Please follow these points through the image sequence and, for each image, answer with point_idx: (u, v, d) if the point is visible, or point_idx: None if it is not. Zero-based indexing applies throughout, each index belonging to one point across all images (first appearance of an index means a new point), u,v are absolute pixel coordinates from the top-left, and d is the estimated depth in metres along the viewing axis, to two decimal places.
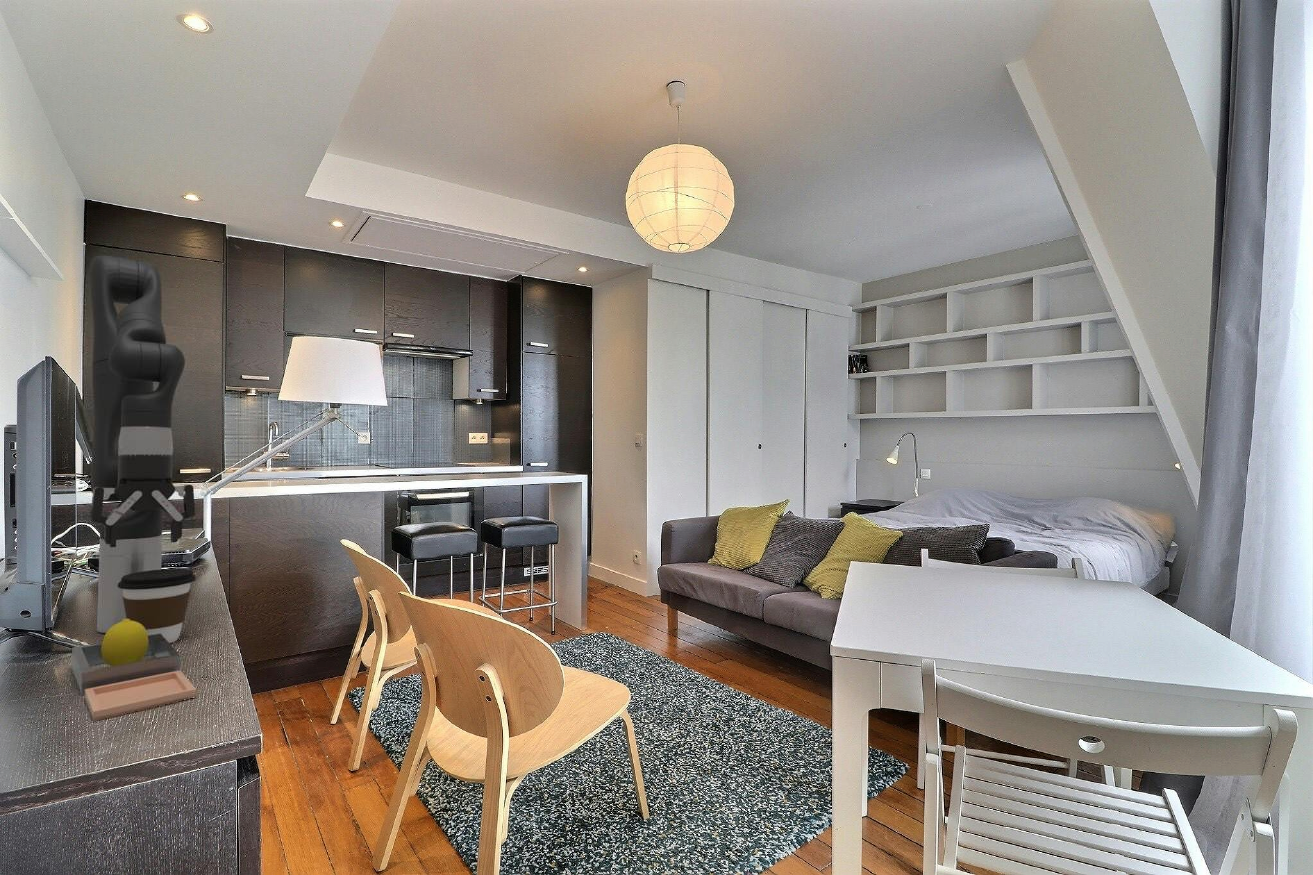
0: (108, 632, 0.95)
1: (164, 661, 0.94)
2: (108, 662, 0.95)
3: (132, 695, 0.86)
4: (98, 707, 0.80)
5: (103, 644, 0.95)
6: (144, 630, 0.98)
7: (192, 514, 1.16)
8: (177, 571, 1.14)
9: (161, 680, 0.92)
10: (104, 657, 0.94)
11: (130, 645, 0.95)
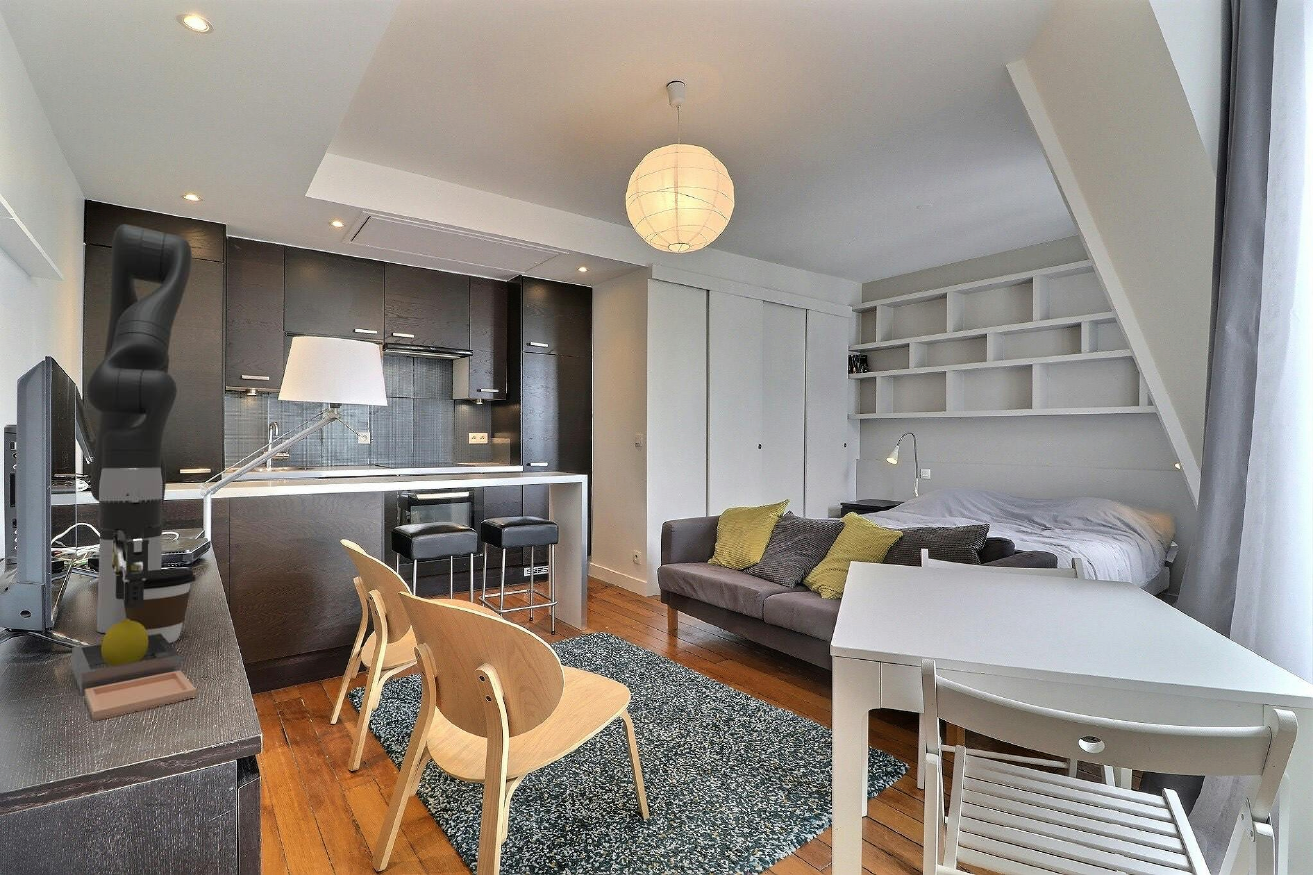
0: (108, 632, 0.95)
1: (164, 661, 0.94)
2: (108, 662, 0.95)
3: (132, 695, 0.86)
4: (98, 707, 0.80)
5: (103, 644, 0.95)
6: (144, 630, 0.98)
7: None
8: (177, 571, 1.14)
9: (161, 680, 0.92)
10: (104, 657, 0.94)
11: (129, 645, 0.95)
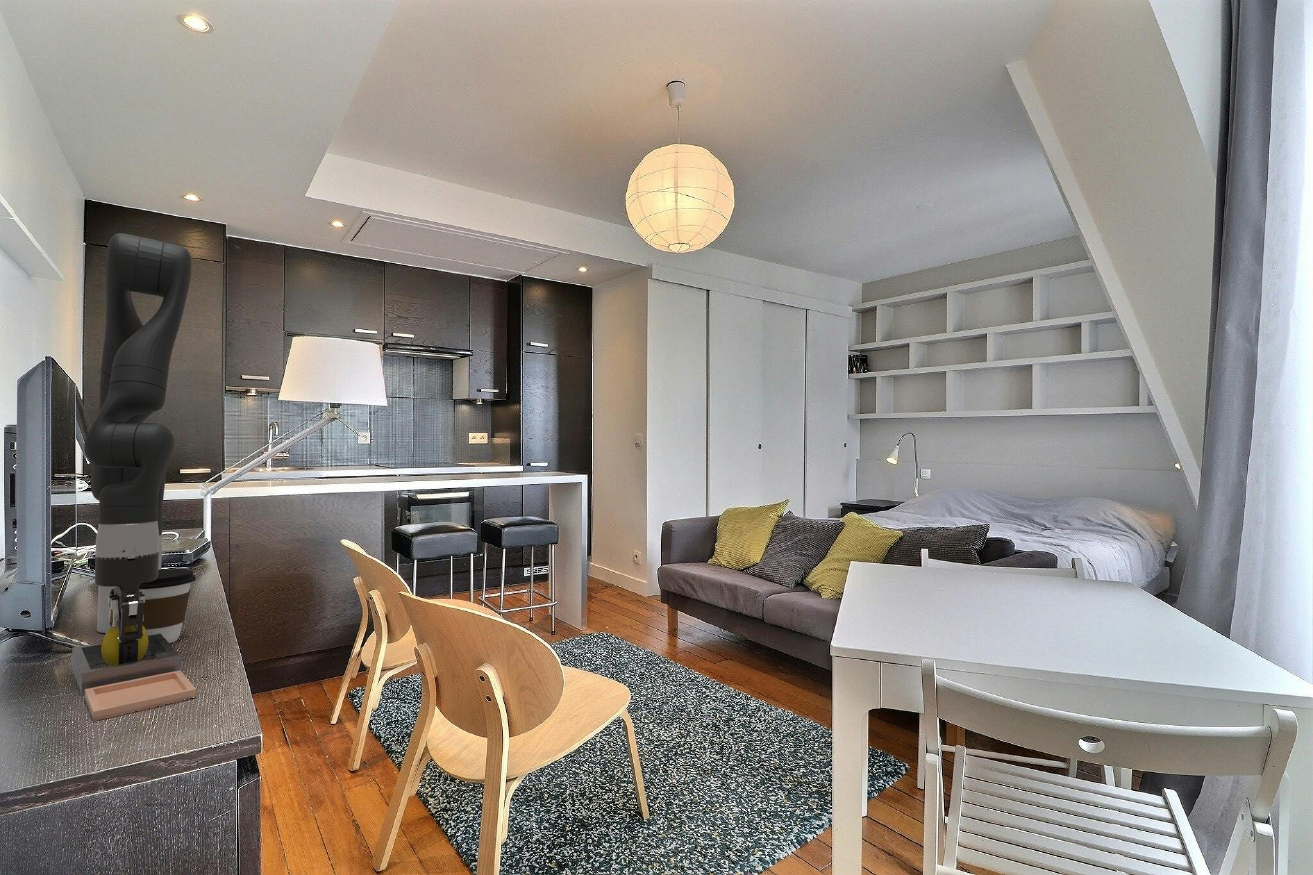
0: (108, 632, 0.95)
1: (164, 661, 0.94)
2: (108, 662, 0.95)
3: (132, 695, 0.86)
4: (98, 707, 0.80)
5: (103, 644, 0.95)
6: (144, 630, 0.98)
7: None
8: (177, 571, 1.14)
9: (161, 680, 0.92)
10: (104, 657, 0.94)
11: None
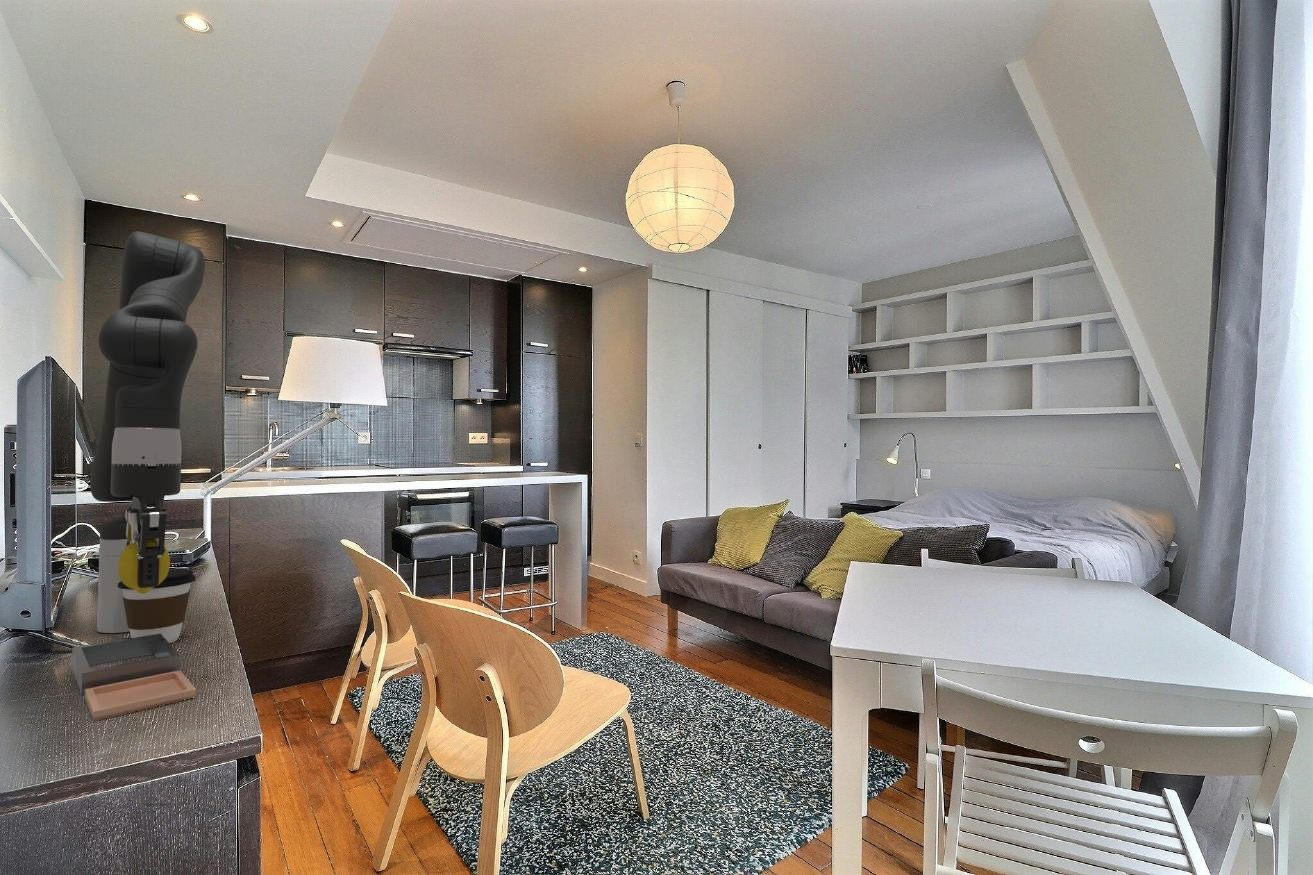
0: (126, 549, 0.85)
1: (164, 661, 0.94)
2: (126, 582, 0.85)
3: (132, 695, 0.86)
4: (98, 707, 0.80)
5: (120, 562, 0.85)
6: (165, 549, 0.88)
7: None
8: (177, 571, 1.14)
9: (161, 680, 0.92)
10: (121, 576, 0.85)
11: None
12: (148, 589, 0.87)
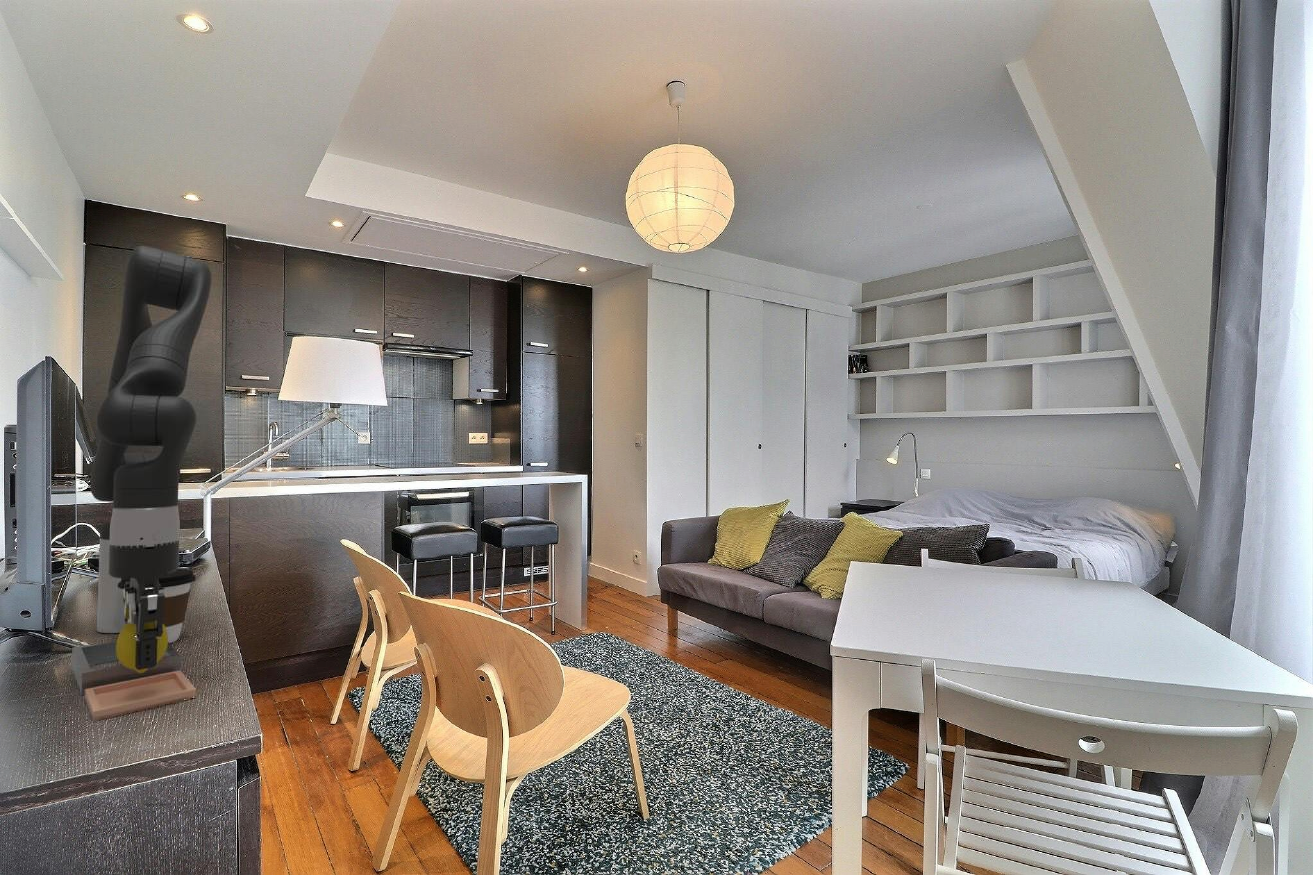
0: (124, 629, 0.85)
1: (164, 661, 0.94)
2: (124, 663, 0.84)
3: (132, 695, 0.86)
4: (98, 707, 0.80)
5: (118, 643, 0.84)
6: (163, 627, 0.88)
7: None
8: (177, 571, 1.14)
9: (161, 680, 0.92)
10: (119, 657, 0.84)
11: None
12: None
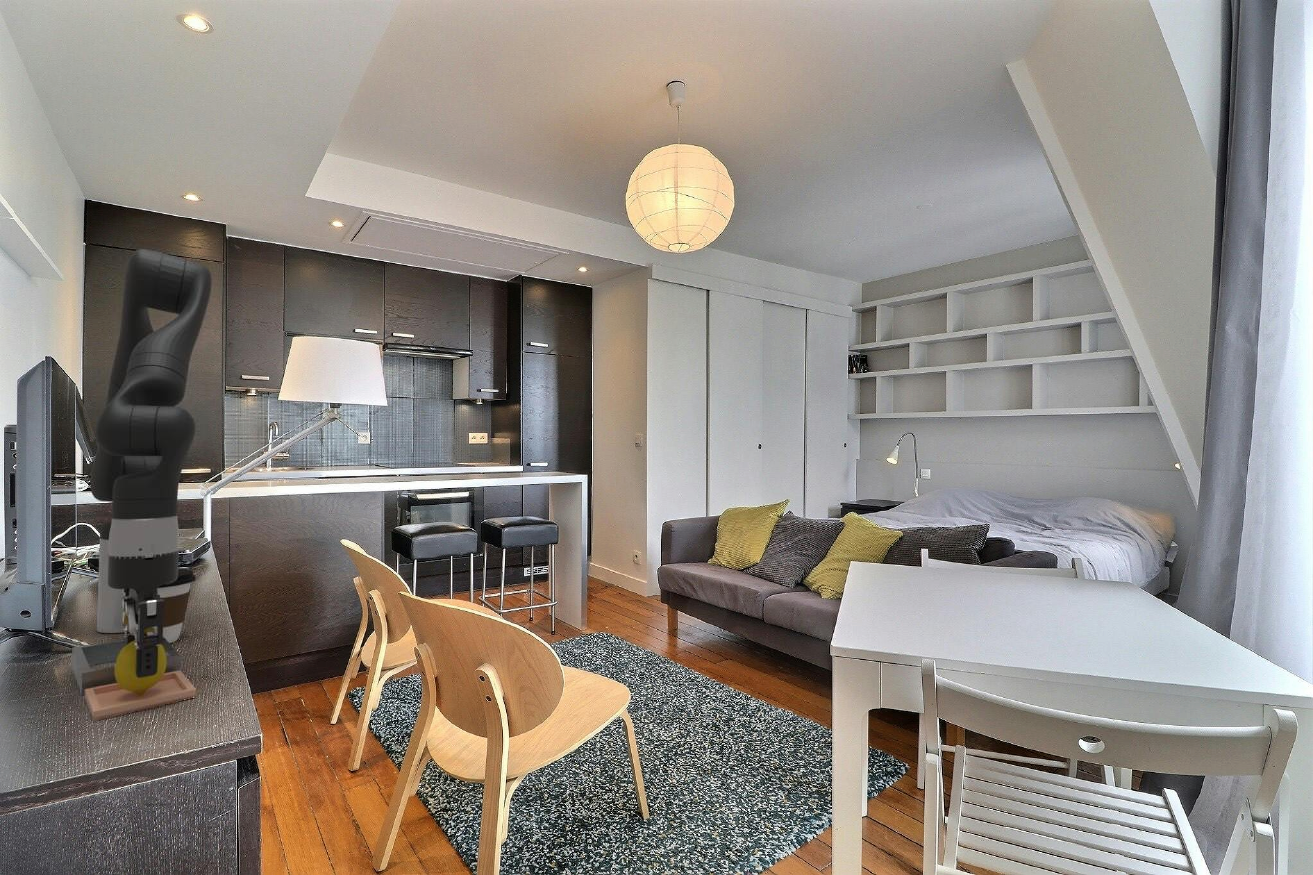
0: (122, 651, 0.85)
1: None
2: (122, 685, 0.84)
3: (132, 695, 0.86)
4: (98, 707, 0.80)
5: (117, 665, 0.84)
6: (162, 649, 0.88)
7: None
8: None
9: (161, 680, 0.92)
10: (118, 680, 0.84)
11: None
12: (144, 690, 0.86)
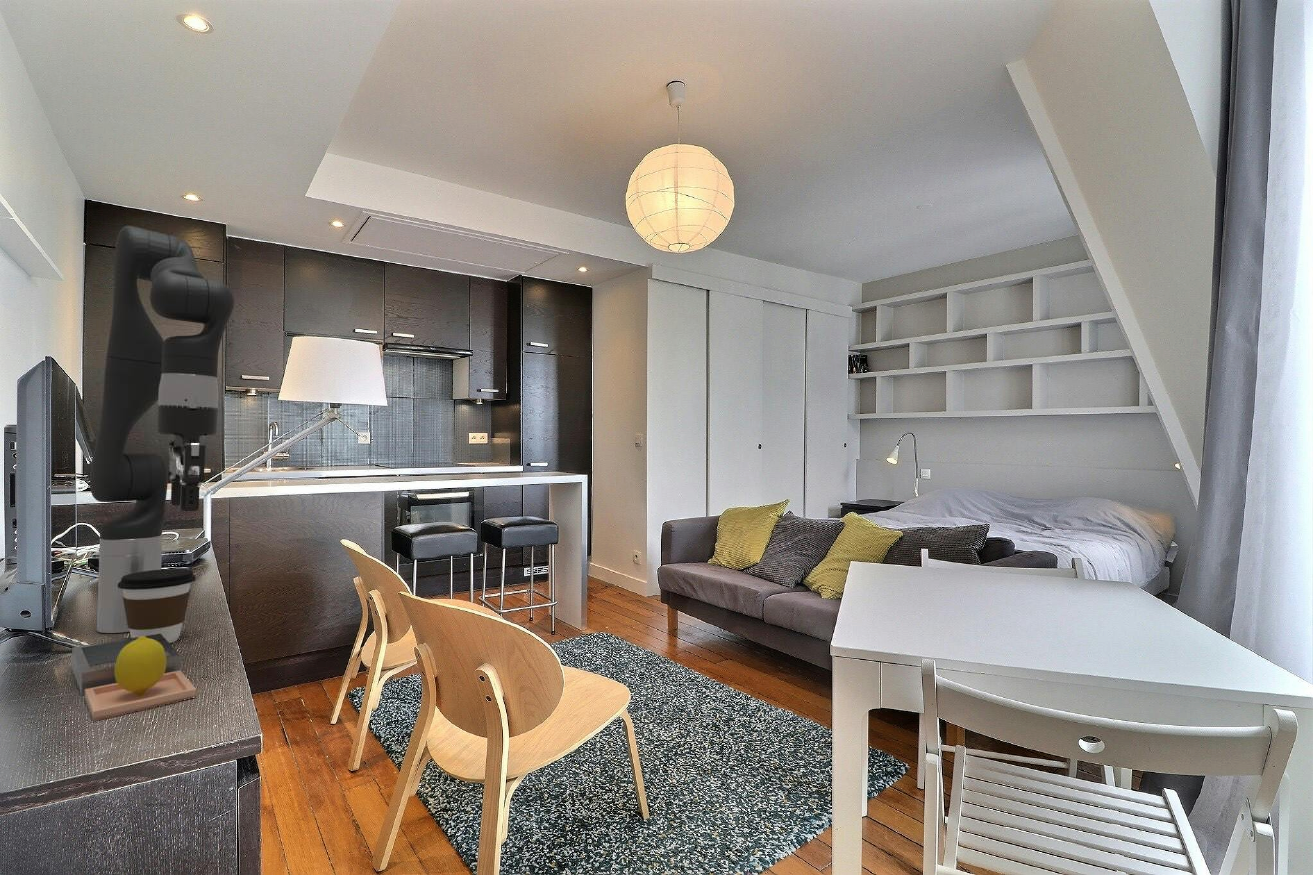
0: (122, 651, 0.85)
1: None
2: (122, 685, 0.84)
3: (132, 695, 0.86)
4: (98, 707, 0.80)
5: (117, 665, 0.84)
6: (162, 649, 0.88)
7: None
8: (177, 571, 1.14)
9: (161, 680, 0.92)
10: (118, 680, 0.84)
11: (146, 666, 0.85)
12: (144, 690, 0.86)
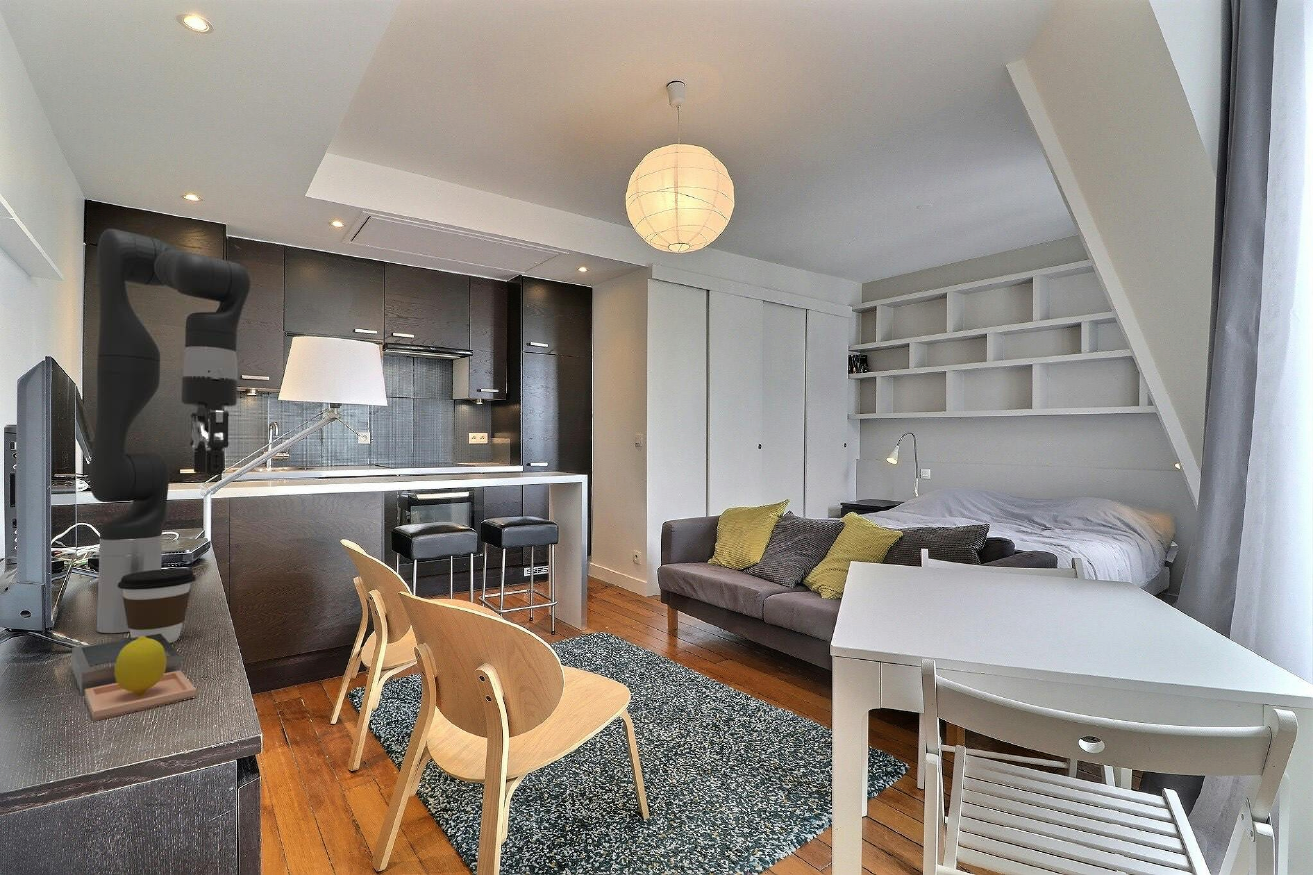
0: (122, 651, 0.85)
1: None
2: (122, 685, 0.84)
3: (132, 695, 0.86)
4: (98, 707, 0.80)
5: (117, 665, 0.84)
6: (162, 649, 0.88)
7: None
8: (177, 571, 1.14)
9: (161, 680, 0.92)
10: (118, 680, 0.84)
11: (146, 666, 0.85)
12: (144, 690, 0.86)
